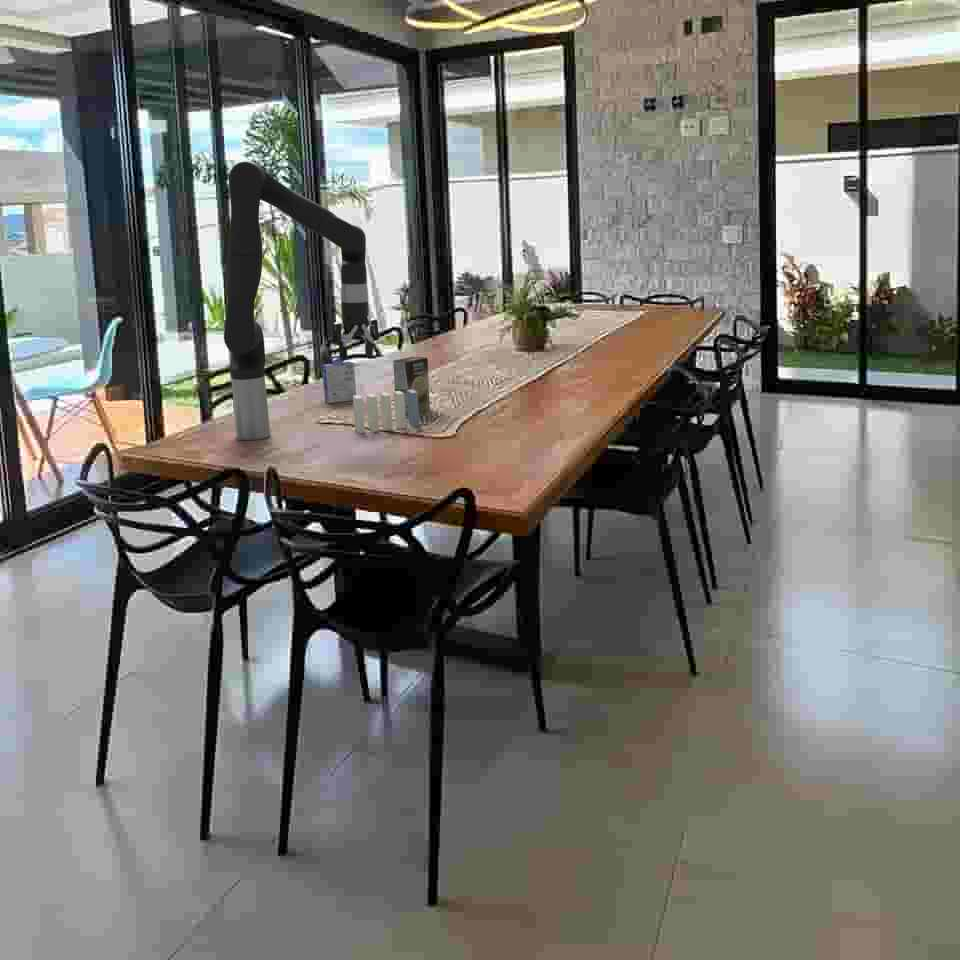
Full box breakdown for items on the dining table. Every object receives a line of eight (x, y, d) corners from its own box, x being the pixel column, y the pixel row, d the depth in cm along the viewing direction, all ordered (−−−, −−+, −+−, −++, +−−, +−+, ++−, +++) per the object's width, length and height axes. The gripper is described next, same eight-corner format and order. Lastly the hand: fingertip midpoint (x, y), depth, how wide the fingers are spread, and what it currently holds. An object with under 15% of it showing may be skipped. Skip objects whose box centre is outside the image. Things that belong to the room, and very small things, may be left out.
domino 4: (400, 428, 314) (397, 394, 311) (395, 425, 318) (393, 391, 316) (406, 428, 314) (404, 393, 311) (401, 424, 319) (399, 390, 316)
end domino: (415, 423, 320) (412, 389, 317) (419, 426, 315) (417, 392, 313) (409, 423, 319) (406, 390, 317) (413, 427, 315) (411, 392, 312)
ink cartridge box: (352, 397, 362) (349, 353, 358) (357, 400, 357) (354, 355, 354) (323, 401, 358) (320, 357, 354) (328, 403, 354) (325, 359, 350)
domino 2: (372, 431, 311) (370, 397, 309) (368, 428, 316) (366, 394, 313) (378, 431, 312) (376, 396, 309) (375, 427, 316) (372, 393, 314)
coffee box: (410, 414, 332) (407, 362, 327) (395, 412, 336) (392, 360, 331) (430, 409, 339) (428, 357, 334) (415, 407, 343) (412, 356, 338)
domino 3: (386, 430, 312) (384, 395, 310) (382, 426, 317) (380, 392, 314) (392, 429, 313) (390, 395, 310) (388, 426, 318) (386, 392, 315)
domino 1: (358, 433, 310) (356, 398, 307) (355, 429, 315) (352, 395, 312) (365, 432, 311) (362, 397, 308) (361, 429, 315) (358, 394, 313)
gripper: (341, 303, 296) (343, 362, 300) (383, 298, 305) (385, 356, 309) (325, 300, 301) (327, 359, 305) (367, 296, 310) (368, 353, 315)
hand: (356, 358), depth 307 cm, fingers open, 8 cm apart
